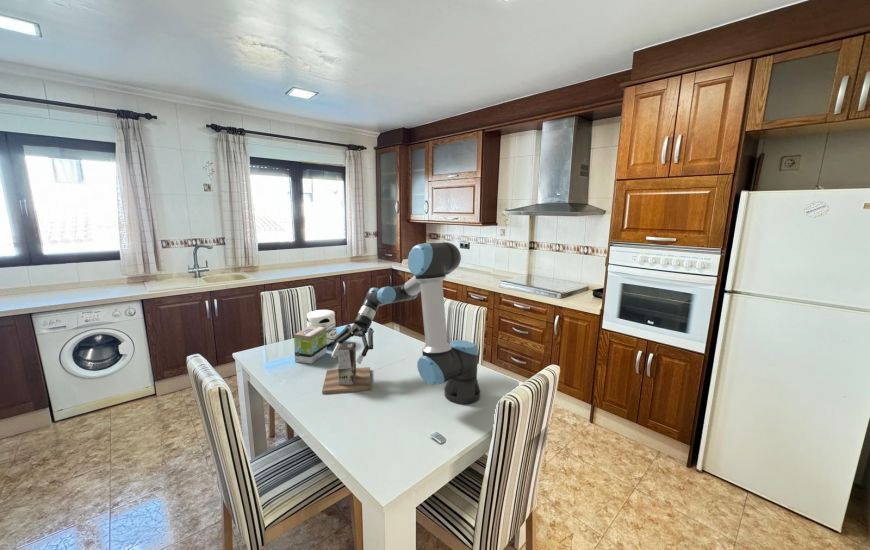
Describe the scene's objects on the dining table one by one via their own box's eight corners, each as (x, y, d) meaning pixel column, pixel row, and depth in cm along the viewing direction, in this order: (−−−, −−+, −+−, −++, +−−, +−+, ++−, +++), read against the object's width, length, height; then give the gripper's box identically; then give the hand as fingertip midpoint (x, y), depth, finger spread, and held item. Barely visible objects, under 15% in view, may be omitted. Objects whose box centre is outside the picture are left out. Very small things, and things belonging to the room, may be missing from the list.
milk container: (337, 347, 199) (336, 316, 196) (305, 350, 194) (303, 318, 191) (337, 337, 215) (336, 308, 212) (307, 339, 210) (305, 310, 207)
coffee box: (353, 384, 153) (352, 349, 150) (338, 384, 153) (337, 349, 150) (356, 375, 162) (356, 341, 159) (342, 375, 162) (341, 341, 159)
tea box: (312, 364, 176) (311, 336, 174) (294, 362, 178) (292, 334, 176) (327, 352, 191) (326, 326, 188) (310, 351, 193) (309, 325, 190)
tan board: (370, 390, 152) (370, 387, 151) (322, 393, 148) (322, 390, 148) (370, 370, 171) (370, 367, 171) (327, 372, 167) (327, 369, 167)
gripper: (390, 325, 164) (373, 368, 153) (346, 318, 174) (327, 358, 163) (384, 317, 158) (365, 361, 147) (339, 310, 168) (318, 351, 157)
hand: (345, 359), depth 155 cm, fingers open, 13 cm apart
